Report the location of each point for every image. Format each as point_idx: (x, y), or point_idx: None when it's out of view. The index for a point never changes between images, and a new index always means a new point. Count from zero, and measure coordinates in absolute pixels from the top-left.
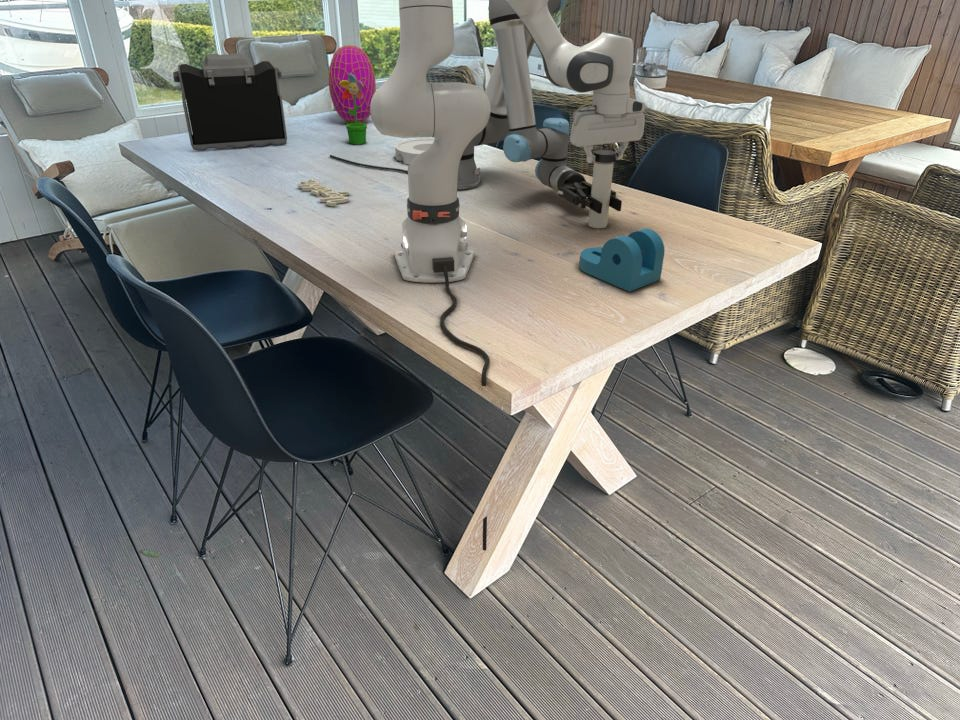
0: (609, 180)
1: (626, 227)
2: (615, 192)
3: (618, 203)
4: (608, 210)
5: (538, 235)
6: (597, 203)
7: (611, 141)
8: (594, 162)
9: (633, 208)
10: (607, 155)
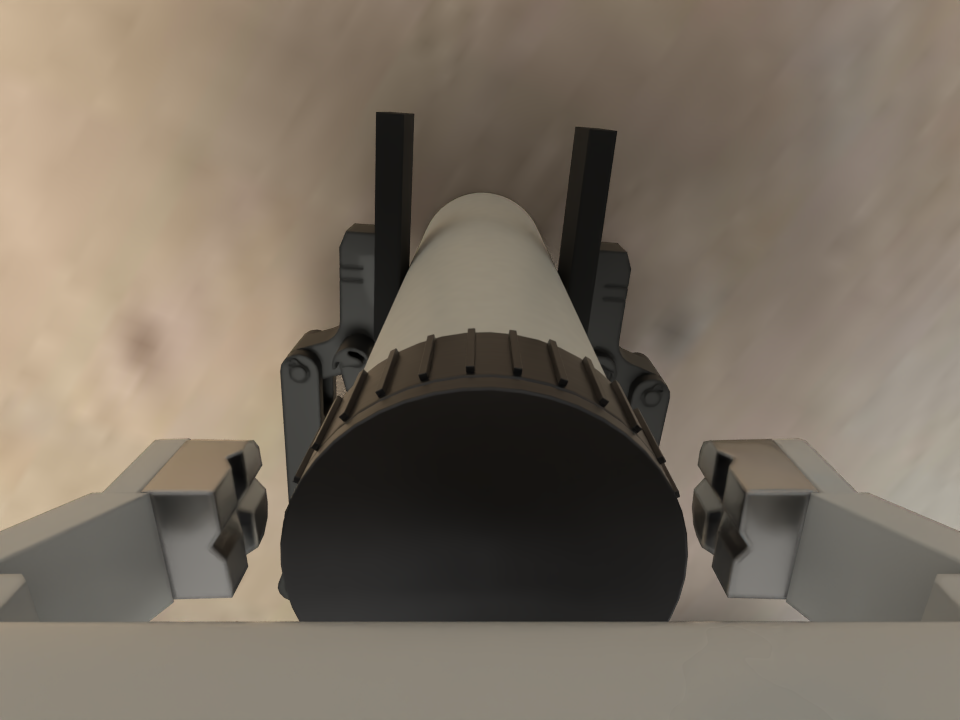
0: (457, 269)
1: (324, 138)
2: (292, 358)
3: (406, 125)
4: (432, 229)
5: (925, 247)
6: (607, 174)
7: (447, 649)
8: (706, 441)
9: (101, 422)
10: (562, 394)
